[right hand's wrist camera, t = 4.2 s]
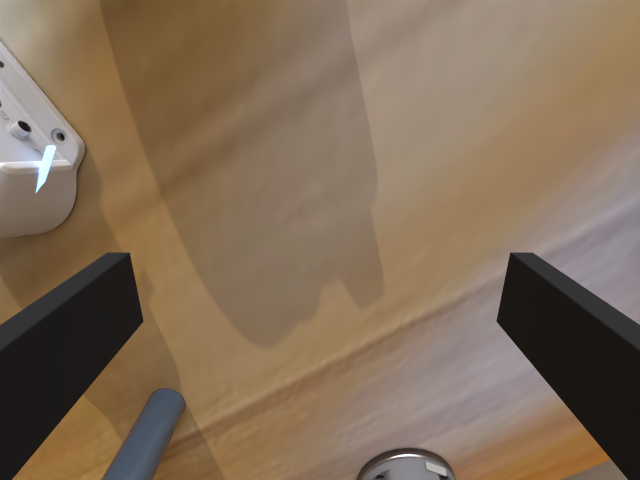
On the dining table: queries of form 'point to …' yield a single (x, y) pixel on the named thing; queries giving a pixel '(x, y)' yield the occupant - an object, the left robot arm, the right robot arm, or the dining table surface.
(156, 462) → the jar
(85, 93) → the dining table surface
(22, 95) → the left robot arm
